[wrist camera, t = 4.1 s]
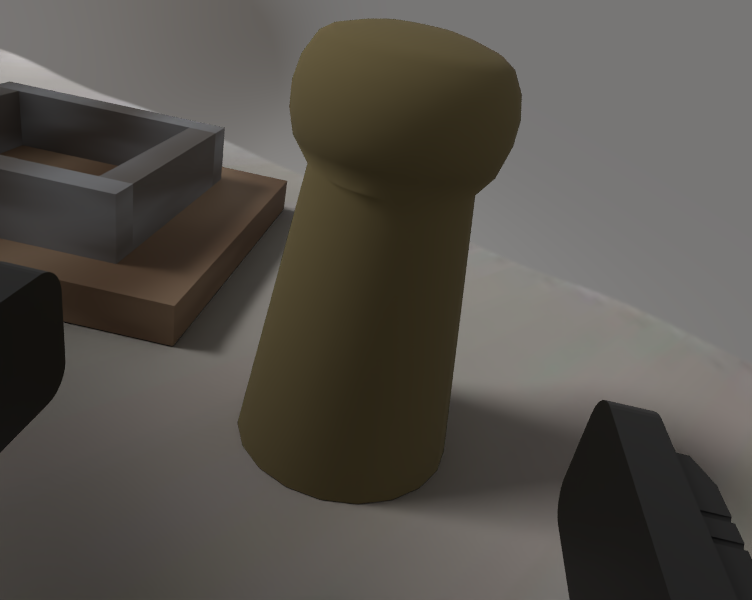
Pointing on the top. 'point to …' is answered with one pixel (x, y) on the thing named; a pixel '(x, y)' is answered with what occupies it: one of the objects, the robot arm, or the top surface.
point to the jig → (124, 209)
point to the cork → (375, 256)
